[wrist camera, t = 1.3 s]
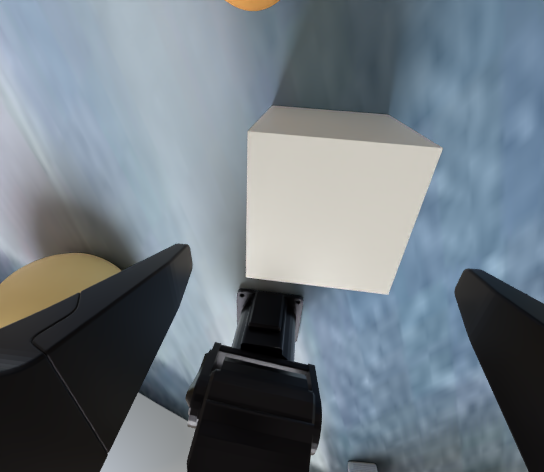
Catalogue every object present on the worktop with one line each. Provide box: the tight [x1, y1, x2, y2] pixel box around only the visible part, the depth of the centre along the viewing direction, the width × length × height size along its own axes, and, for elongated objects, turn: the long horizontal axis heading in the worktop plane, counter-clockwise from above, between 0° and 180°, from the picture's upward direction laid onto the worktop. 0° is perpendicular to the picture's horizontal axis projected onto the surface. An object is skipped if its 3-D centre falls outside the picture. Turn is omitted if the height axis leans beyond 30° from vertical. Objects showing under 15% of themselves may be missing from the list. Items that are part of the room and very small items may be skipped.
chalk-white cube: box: [246, 105, 443, 295], centre depth 17 cm, size 8×8×9 cm
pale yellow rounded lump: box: [0, 253, 121, 328], centre depth 25 cm, size 12×12×11 cm
